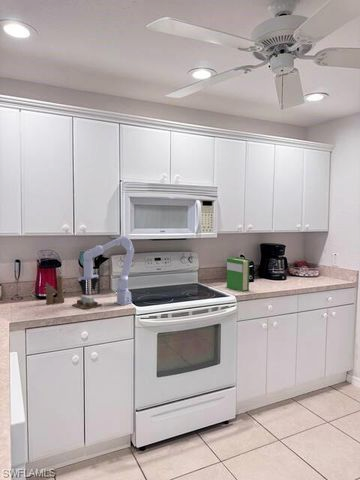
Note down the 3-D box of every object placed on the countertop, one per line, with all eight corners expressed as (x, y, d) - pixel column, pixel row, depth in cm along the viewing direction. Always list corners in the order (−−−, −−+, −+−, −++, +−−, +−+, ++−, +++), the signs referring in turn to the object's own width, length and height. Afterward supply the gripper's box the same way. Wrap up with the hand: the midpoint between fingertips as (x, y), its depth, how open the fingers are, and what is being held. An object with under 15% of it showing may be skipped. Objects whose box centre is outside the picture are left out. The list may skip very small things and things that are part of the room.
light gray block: (93, 305, 221) (93, 297, 220) (89, 306, 218) (89, 298, 218) (84, 302, 227) (84, 295, 227) (80, 303, 225) (80, 295, 224)
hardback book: (248, 290, 271) (249, 260, 270) (241, 291, 267) (242, 260, 266) (233, 286, 286) (233, 257, 284) (226, 287, 282) (227, 258, 280)
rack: (101, 305, 223) (101, 301, 223) (85, 309, 214) (85, 304, 213) (88, 302, 232) (88, 297, 232) (72, 305, 223) (72, 301, 223)
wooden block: (46, 303, 227) (45, 276, 226) (62, 301, 233) (62, 275, 232) (47, 305, 224) (47, 277, 223) (64, 302, 230) (64, 275, 229)
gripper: (93, 267, 233) (93, 287, 234) (74, 270, 221) (75, 291, 222) (100, 268, 228) (100, 289, 229) (81, 271, 217) (81, 292, 218)
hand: (88, 290), depth 225 cm, fingers open, 7 cm apart
